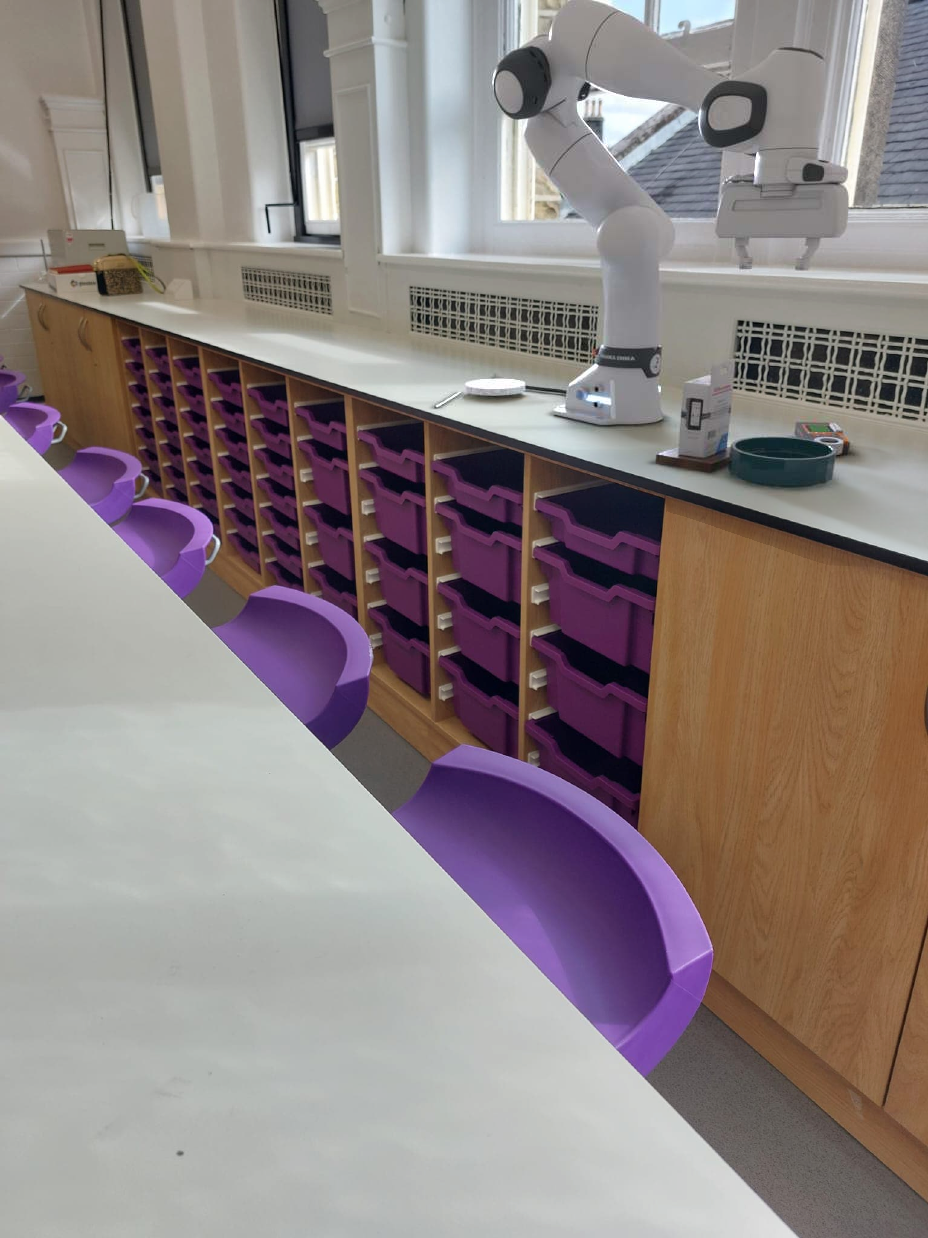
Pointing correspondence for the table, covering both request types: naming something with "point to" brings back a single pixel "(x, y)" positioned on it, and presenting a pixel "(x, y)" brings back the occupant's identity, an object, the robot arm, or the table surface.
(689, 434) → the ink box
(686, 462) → the walnut board
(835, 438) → the electronic device
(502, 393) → the plastic lid
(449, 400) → the rod
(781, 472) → the bowl
